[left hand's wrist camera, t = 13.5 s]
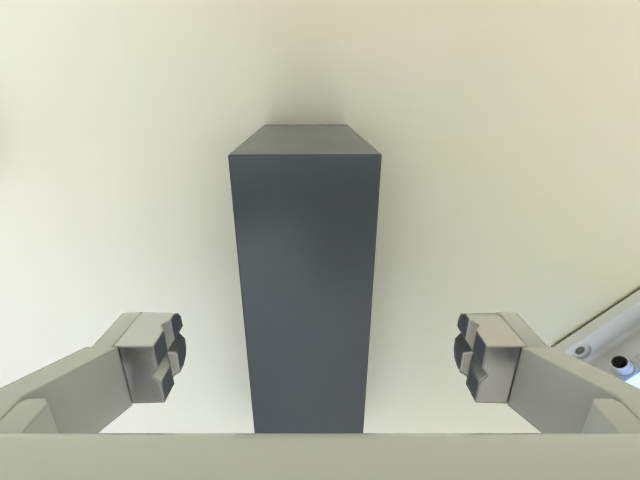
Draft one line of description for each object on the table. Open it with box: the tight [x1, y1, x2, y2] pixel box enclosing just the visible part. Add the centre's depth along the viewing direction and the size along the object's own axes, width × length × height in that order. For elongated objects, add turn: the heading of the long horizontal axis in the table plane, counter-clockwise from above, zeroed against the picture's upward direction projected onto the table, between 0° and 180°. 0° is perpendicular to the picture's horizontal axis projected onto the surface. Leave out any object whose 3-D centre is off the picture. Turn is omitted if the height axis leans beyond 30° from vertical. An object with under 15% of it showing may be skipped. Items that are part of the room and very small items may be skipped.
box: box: [228, 125, 382, 433], centre depth 24 cm, size 28×6×12 cm, turn 0°
